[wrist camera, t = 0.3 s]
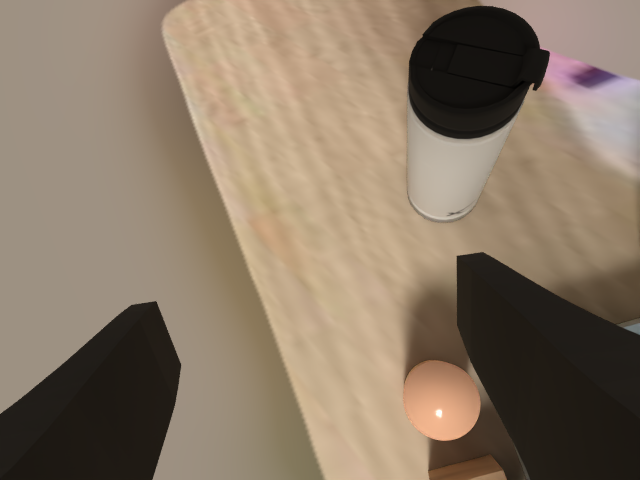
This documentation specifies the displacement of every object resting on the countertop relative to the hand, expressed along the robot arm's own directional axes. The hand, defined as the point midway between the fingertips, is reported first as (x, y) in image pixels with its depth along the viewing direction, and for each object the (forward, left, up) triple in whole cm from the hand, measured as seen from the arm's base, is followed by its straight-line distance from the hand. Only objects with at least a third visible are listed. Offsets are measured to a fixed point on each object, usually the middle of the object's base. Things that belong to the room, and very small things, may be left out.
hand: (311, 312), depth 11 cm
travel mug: (+11, -10, -30) cm, 33 cm away
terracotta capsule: (-5, -3, -29) cm, 30 cm away
